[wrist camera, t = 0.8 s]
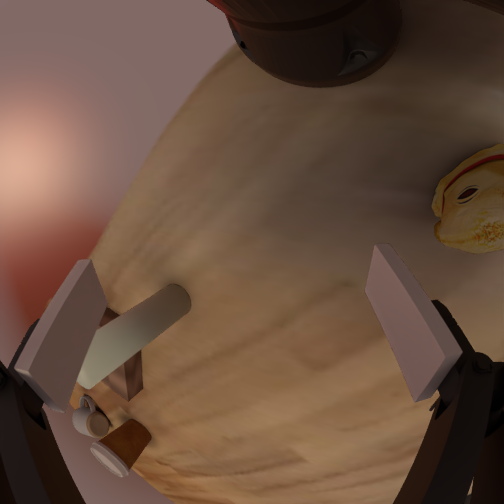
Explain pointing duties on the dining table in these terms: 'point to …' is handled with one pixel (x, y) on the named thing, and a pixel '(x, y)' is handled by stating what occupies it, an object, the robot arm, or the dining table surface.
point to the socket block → (124, 369)
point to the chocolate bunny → (472, 203)
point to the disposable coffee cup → (122, 447)
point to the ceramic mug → (90, 419)
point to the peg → (132, 333)
